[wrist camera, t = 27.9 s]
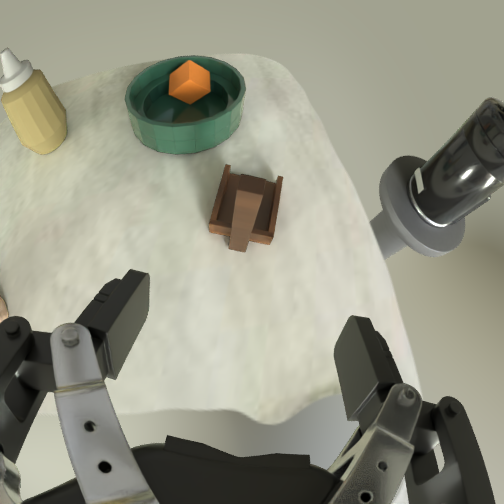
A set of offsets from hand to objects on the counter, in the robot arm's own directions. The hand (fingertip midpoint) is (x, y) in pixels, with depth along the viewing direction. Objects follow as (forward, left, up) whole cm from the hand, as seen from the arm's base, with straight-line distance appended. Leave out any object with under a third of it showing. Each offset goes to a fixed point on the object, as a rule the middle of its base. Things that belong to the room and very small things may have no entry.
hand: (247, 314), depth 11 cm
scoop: (+1, -14, -18) cm, 23 cm away
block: (+12, -28, -14) cm, 33 cm away
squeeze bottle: (+32, -20, -18) cm, 41 cm away
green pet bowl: (+12, -27, -18) cm, 34 cm away
